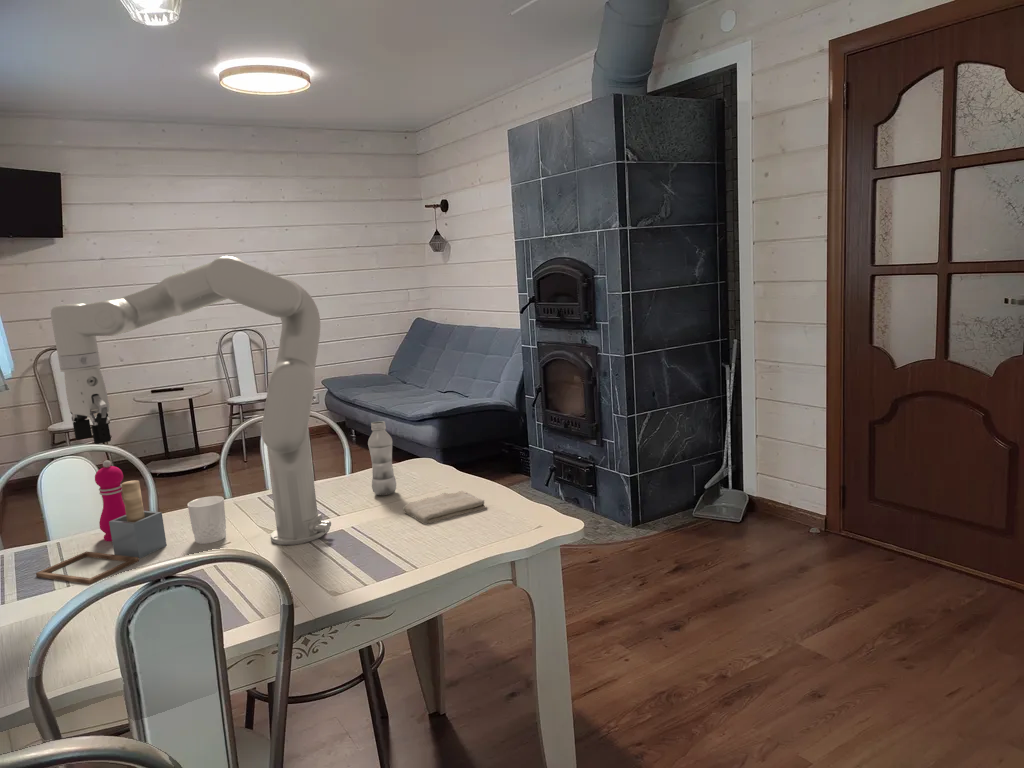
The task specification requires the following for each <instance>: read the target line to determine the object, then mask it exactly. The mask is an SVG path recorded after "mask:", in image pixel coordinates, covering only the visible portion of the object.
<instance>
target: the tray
mask: <svg viewBox="0 0 1024 768" xmlns="http://www.w3.org/2000/svg"><path fill="white" fill-rule="evenodd" d="M86 557H87V558H94V559H95V558H96V559H104V560H111V561H112V560H113V561H120V562H122V563H120V564H118V565H116V566H114V567H112V568H109V569H107V570H105V571H103V572H101V573H98V574H97V575H95V576H92V577H82V576H77V575H69V574H67V575H66V574H60V573H54V571H56V570H59V569H61V568H64V567H66V566H68V565H70V564H73V563H75V562H78V561H80V560H82V559H84V558H86ZM139 559H140V558H138V557H130V556H122V555H114V554H113V553H105V552H96V551H95V552H94V551H93V552H92V551H85V552H81V553H80V554H76V555H75V556H72V557H71V558H67V559H65V560H63V561H61V562H59V563H57V564H54V565H52V566H49V567H47V568H45V569H42V570H40V571H37V572H35V576H36V577H37V578H41V579H42V578H43V579H49V580H56V581H57V580H58V581H64V582H71V583H79V584H86V585H92V584H94V583H96V582H98V581H100V580H103V579H104V578H106V577H108V576H110V575H113V574H115V573H117V572H119V571H121V570H124V569H125V568H128V567H129V566H132V565H134V564H136V563H138V562H139Z"/></svg>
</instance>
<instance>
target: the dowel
mask: <svg viewBox="0 0 1024 768" xmlns="http://www.w3.org/2000/svg"><path fill="white" fill-rule="evenodd" d="M121 485H122V491H121V492H122V499H123V502H124V504H125V511H126V517H127V522H136V521H139V520H141V519H143V518H145V515H144V511H145V509H144V504H143V497H142V490H141V484H140V480H134V479H133V480H128V481H124V482H121Z"/></svg>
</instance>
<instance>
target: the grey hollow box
mask: <svg viewBox="0 0 1024 768" xmlns="http://www.w3.org/2000/svg"><path fill="white" fill-rule="evenodd" d="M144 515H145V518H143V519H141V520H139V521H136V522H127V517H126V515H124V516H121V517H119V518H116V519H114V520H111V521H109V525H110V531H111V537H112V541H111V542H112V548H113V553H114V554H113V555H122V556H130V557H138V558H139V559H142V558H143V557H146V556H147V555H149V554H152V553H154V552H156V551H158V550H161V549H162V548H165V547H167V546H168V545H167V538H166V532H165V524H164V518H163V512H162V511H154V510H153V511H150V510H149V511H148V510H144Z"/></svg>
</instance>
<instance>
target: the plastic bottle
mask: <svg viewBox="0 0 1024 768" xmlns="http://www.w3.org/2000/svg"><path fill="white" fill-rule="evenodd" d="M370 426H371V431H372V432H371V434H370V436H369V438H368V441H367V445H368V449H369V450H368V451H369V453H370V460H371V467H372V472H371V473H372V477H371V490H372V492H373V493H374V495H378V496H387V495H391V494H393V493H395V492H396V490H397V480H396V477H395V473H394V472H395V471H394V467H393V438H392V436H391V435H390V434H389V433H388V432H387V430H386V429H387V426H386V421H381V420H380V421H379V420H378V421H373V422H371V423H370Z"/></svg>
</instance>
